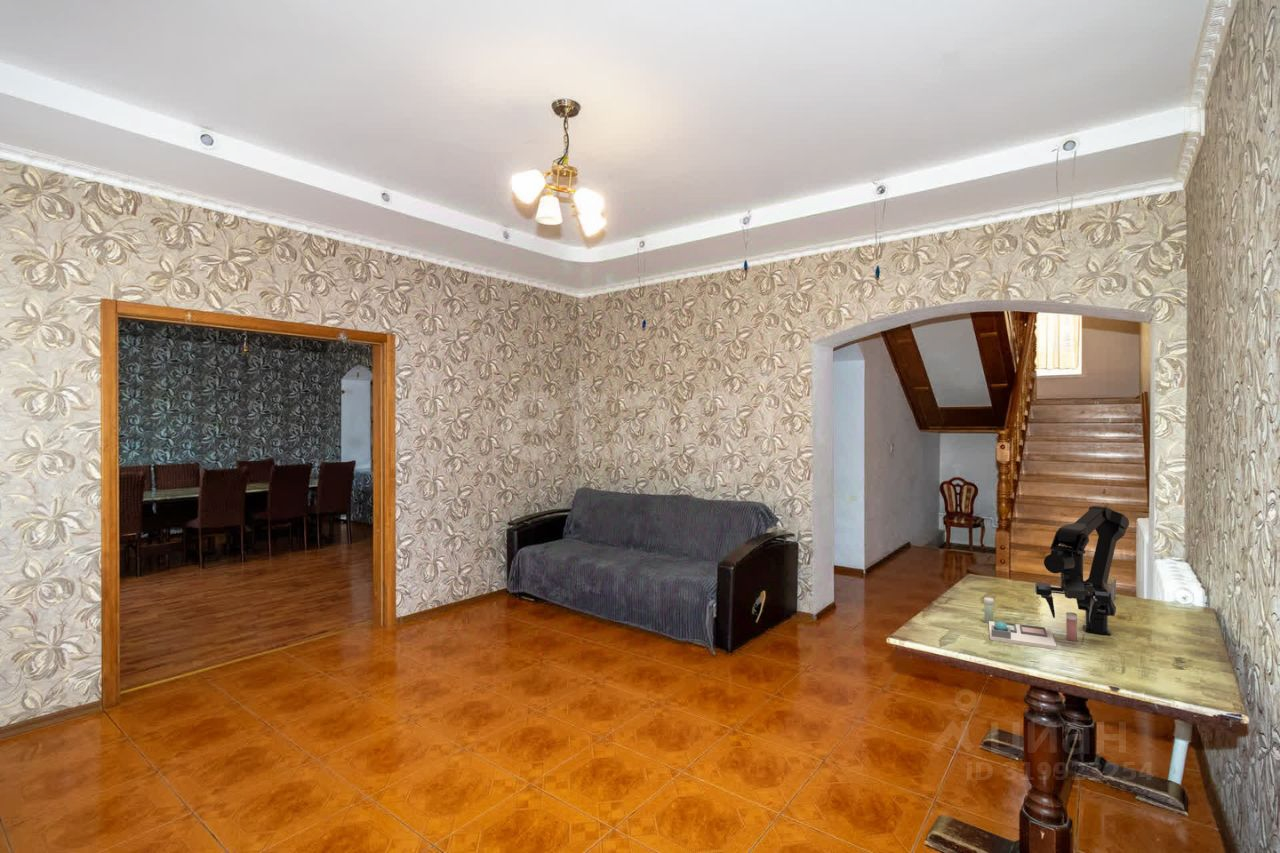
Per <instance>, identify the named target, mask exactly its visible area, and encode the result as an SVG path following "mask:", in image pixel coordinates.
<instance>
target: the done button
mask: <svg viewBox="0 0 1280 853" xmlns="http://www.w3.org/2000/svg"><path fill="white" fill-rule="evenodd" d="M994 622H995V621H994ZM1004 622H1005V621H999V622H995V630H1001V631H1007V624H1006V623H1007V622H1006V623H1004Z"/></svg>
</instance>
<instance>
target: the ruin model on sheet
mask: <svg viewBox="0 0 1280 853" xmlns="http://www.w3.org/2000/svg"><path fill="white" fill-rule="evenodd" d="M1107 586H1108V588H1109V590H1110V592H1111V600H1112V601H1113V602H1114V600H1116V598H1117V578H1116V576H1115V575H1113V574H1111V573H1109V576H1108V581H1107ZM1115 595H1116V596H1115Z"/></svg>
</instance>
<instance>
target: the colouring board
mask: <svg viewBox="0 0 1280 853" xmlns="http://www.w3.org/2000/svg"><path fill="white" fill-rule="evenodd" d="M995 622H1000V621H999V620H998V621H996V620H995V621H994V620H993V621H989V623H988V629H989V633H988V634H989V640H990V641H995V642H1003V643H1008V644H1015V645H1022V646H1030V647H1037V648H1043V649H1051V650H1057V648H1058V647H1057V644H1056V640H1055V637H1054V635H1053V632H1052V629H1051V628H1046V627H1045V626H1044V627H1043V626H1036V625H1028V624H1023V623H1021V624H1016V623H1014V622H1013V623H1012V622H1005V621H1003V622H1004V623H1006V624H1007V631H1001V630H995Z"/></svg>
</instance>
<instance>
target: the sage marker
mask: <svg viewBox="0 0 1280 853" xmlns="http://www.w3.org/2000/svg"><path fill="white" fill-rule="evenodd" d="M983 600H984V601H983V603H984V605H983V606H984V610H983V611H984V612H983V613H984V614H983V615H984V620H983V621H984V623H986V624H989V621H993V622H994V601H995V600H994V598H993V597H990V596H989V597H988V596H987V597H986V596H985V597H984V599H983Z"/></svg>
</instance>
